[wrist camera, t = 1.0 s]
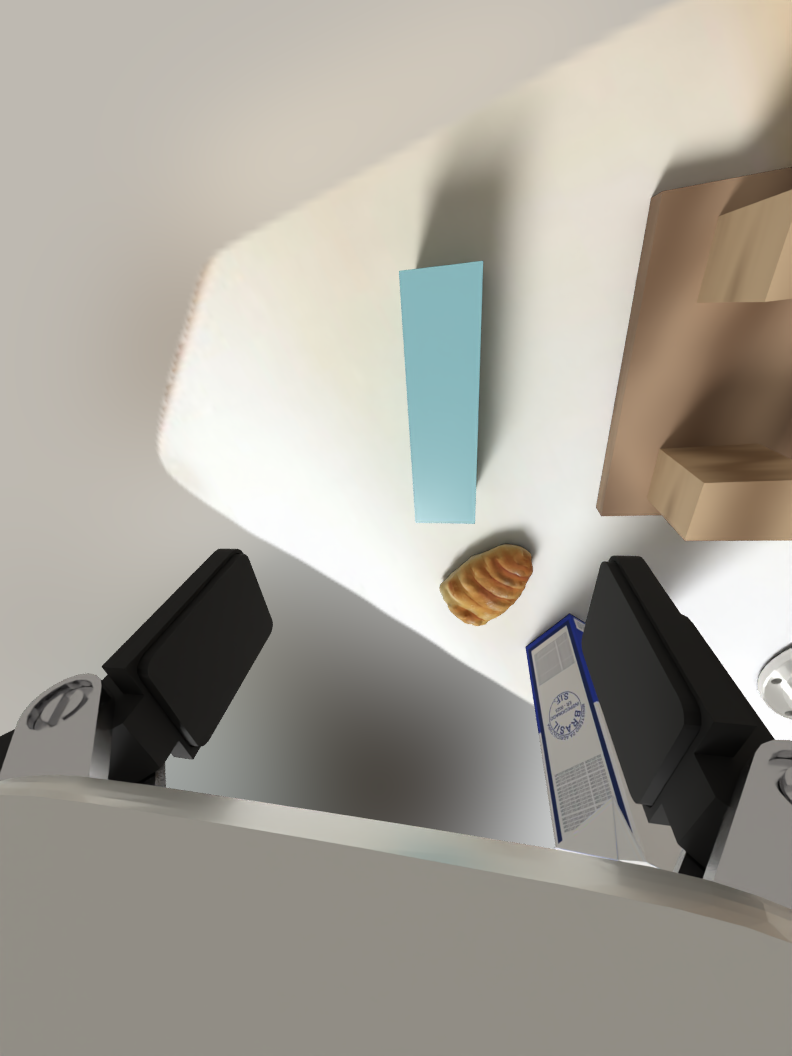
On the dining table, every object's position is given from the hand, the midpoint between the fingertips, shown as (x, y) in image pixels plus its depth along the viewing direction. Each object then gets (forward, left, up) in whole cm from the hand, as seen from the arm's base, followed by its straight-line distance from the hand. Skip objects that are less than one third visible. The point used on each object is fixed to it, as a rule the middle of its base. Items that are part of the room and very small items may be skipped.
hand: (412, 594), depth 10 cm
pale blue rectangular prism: (0, -1, -23) cm, 23 cm away
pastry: (-2, +17, -23) cm, 29 cm away
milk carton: (-12, +26, -23) cm, 37 cm away
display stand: (-18, -1, -22) cm, 28 cm away
